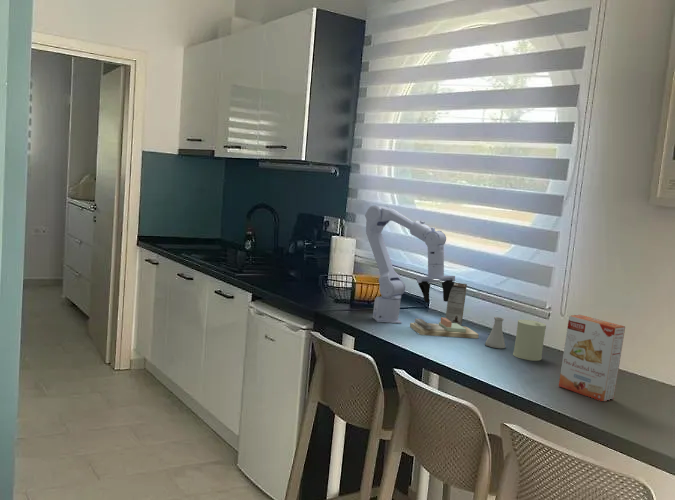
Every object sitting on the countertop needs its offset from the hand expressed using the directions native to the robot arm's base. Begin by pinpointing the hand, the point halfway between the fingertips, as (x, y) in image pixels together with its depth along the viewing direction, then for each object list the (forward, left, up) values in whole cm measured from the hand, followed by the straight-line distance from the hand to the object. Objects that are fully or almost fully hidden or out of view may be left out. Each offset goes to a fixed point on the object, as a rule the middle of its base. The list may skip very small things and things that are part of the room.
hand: (436, 301), depth 251 cm
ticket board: (+4, -1, -11) cm, 12 cm away
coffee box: (+13, +13, -11) cm, 22 cm away
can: (+23, -29, -11) cm, 38 cm away
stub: (+7, -1, -9) cm, 12 cm away
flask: (+17, -17, -11) cm, 26 cm away
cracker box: (+22, -66, -11) cm, 70 cm away
